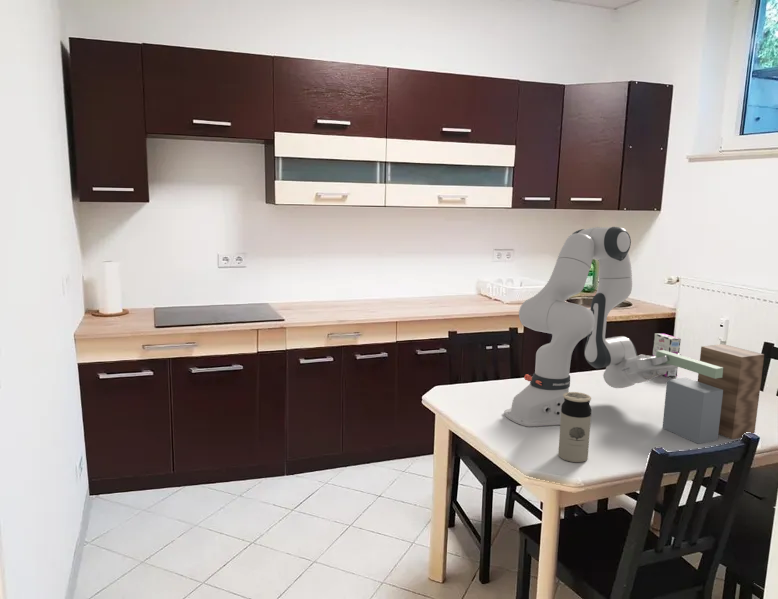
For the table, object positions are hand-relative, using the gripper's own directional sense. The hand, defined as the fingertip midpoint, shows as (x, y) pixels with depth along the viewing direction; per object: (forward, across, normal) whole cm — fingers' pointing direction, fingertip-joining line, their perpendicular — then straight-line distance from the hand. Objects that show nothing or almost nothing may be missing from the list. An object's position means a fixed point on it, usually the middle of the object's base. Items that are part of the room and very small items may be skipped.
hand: (672, 357), depth 190 cm
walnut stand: (-3, +14, +24) cm, 28 cm away
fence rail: (+4, 0, +5) cm, 6 cm away
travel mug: (-3, -46, +24) cm, 52 cm away
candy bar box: (-50, +47, -2) cm, 68 cm away
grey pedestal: (-3, 0, +24) cm, 24 cm away
